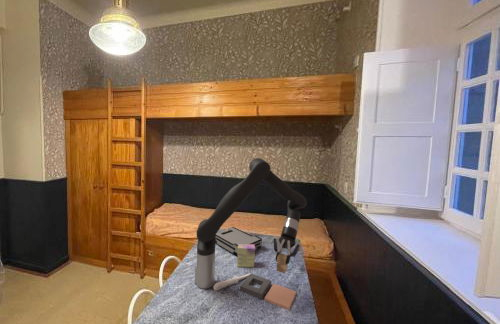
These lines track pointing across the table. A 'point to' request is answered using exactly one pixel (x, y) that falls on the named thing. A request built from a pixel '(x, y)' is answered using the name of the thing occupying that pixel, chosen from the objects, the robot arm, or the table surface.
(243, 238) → the game console
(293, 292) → the terracotta tile
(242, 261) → the box
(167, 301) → the table surface
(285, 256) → the oak block
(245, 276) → the toothed blade
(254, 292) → the pocket frame
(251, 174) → the robot arm
